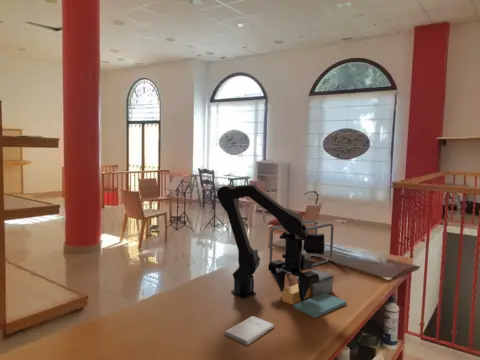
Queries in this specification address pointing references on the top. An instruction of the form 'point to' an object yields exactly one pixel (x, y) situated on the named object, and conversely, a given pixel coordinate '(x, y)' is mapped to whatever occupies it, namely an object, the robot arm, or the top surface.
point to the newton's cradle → (311, 233)
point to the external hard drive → (249, 330)
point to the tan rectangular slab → (294, 294)
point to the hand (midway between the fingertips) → (291, 296)
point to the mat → (319, 304)
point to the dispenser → (321, 283)
